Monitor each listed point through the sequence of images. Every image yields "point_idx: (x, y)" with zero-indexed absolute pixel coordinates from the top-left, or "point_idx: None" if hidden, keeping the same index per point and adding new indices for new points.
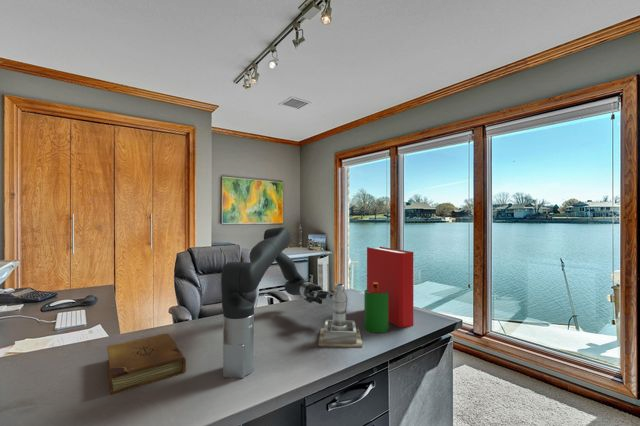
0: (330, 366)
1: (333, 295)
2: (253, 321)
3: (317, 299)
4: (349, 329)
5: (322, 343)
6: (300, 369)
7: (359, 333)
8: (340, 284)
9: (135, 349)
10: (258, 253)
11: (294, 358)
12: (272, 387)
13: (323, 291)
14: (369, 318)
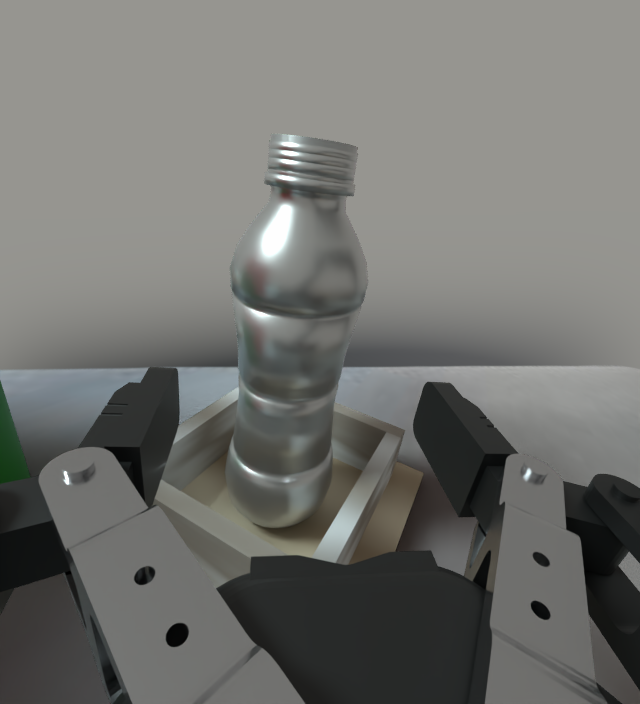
0: (409, 381)
1: (361, 250)
2: None
3: (481, 413)
4: None
5: (402, 469)
6: (497, 400)
7: None
8: (285, 142)
9: None
10: None
11: (526, 447)
12: (557, 382)
13: (254, 645)
14: (6, 429)
